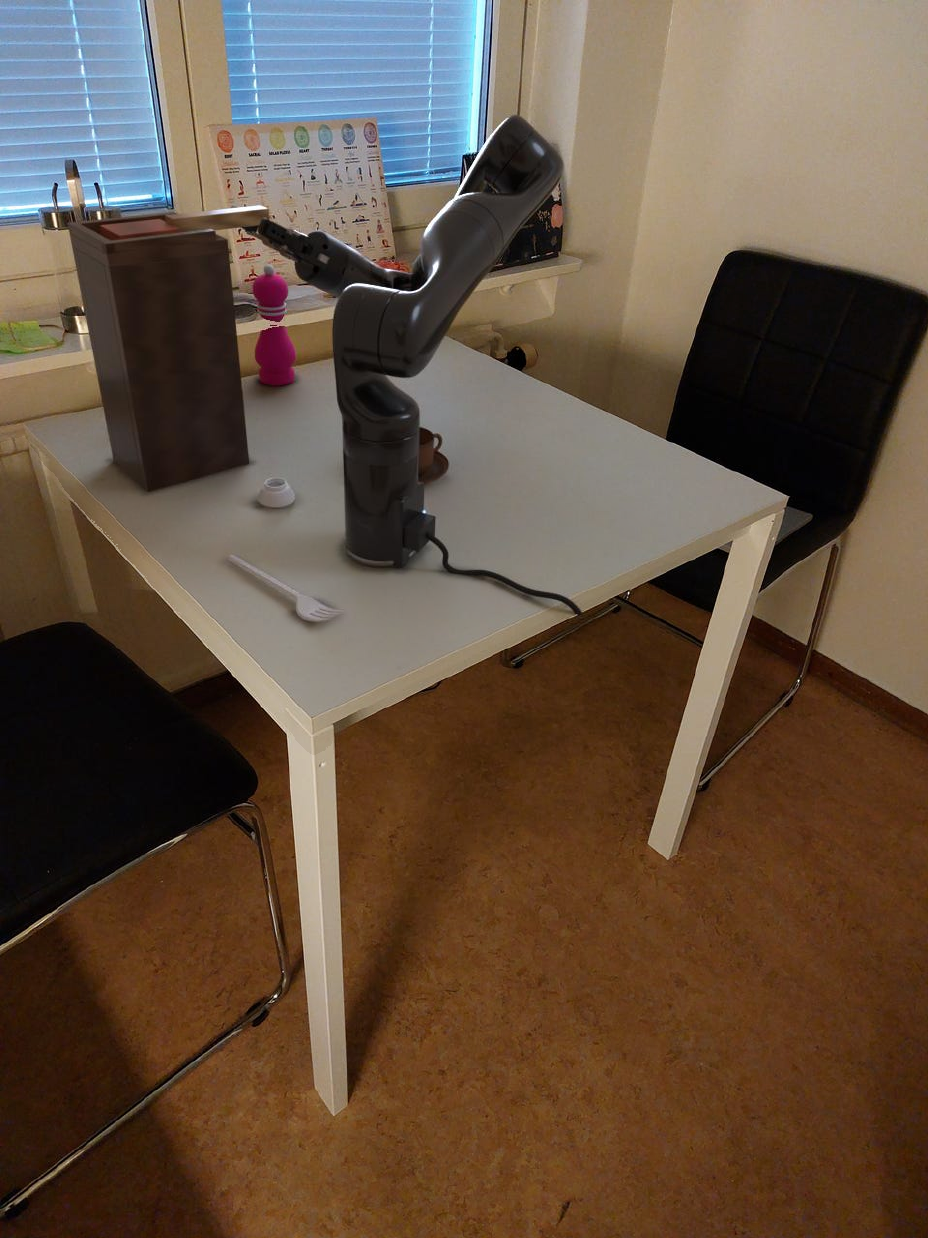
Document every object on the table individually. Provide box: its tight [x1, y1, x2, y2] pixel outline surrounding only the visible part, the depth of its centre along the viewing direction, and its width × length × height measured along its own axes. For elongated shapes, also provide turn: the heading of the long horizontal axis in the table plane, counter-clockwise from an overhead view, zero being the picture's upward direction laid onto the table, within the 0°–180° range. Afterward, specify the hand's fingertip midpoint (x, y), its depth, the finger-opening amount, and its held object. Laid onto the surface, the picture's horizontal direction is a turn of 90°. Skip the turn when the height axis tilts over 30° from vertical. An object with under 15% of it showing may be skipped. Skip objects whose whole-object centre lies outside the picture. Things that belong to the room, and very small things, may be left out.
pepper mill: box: [252, 264, 297, 386], centre depth 156 cm, size 7×7×20 cm
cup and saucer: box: [418, 426, 450, 485], centre depth 133 cm, size 12×12×6 cm
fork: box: [227, 554, 345, 623], centre depth 107 cm, size 3×20×2 cm, turn 49°
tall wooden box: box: [67, 211, 250, 493], centre depth 124 cm, size 16×12×33 cm
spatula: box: [100, 204, 270, 240], centre depth 118 cm, size 22×6×2 cm, turn 130°
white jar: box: [257, 477, 296, 508], centre depth 125 cm, size 5×3×5 cm
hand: (245, 218), depth 122 cm, fingers open, 8 cm apart
